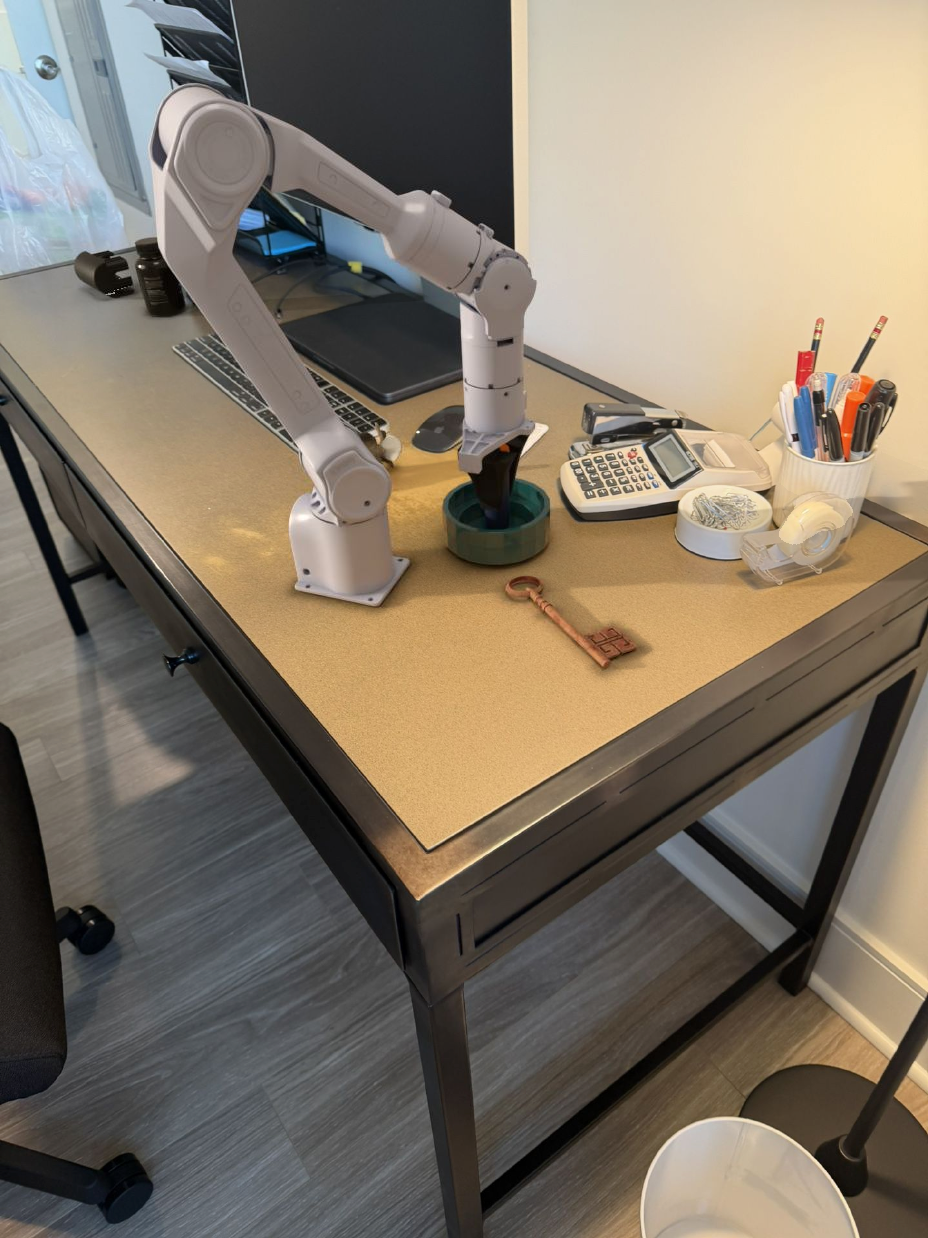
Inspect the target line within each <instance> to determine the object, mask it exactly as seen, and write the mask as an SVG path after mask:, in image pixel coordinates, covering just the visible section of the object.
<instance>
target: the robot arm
mask: <svg viewBox="0 0 928 1238" xmlns="http://www.w3.org/2000/svg"><path fill="white" fill-rule="evenodd" d="M147 151H148V156H149V162H150V169H151V176H152V178H151V179H152V189H153V202H154V214H155V215H154V216H155V227H156V228H155V229H156V237H157V241H158V247H159V249H160V251H161V253H162V255H163V258H164V259H165V261H166V263H167V264H168V266H169V268H170V269H171V270H172V272H173V273H174V274H175V276H176V277H177V279H178V280H179V281H180V283H181V287H183V289H184V290H185V292H186V293H187V295H188V296H189V297H190V298H191V300H192V301H193V303H194V304H195V305H196V307H197V308H198V310H199V311H200V312H201V313H202V315H203V316H204V318H205V319H206V321H207V322H208V323H209V325H210V326H211V328H212V329H213V330H214V332H215V333H216V335H217V336H218V337H219V339H220V340H221V342H222V343H223V344H224V345H225V347H226V348H227V350H228V351H229V353H230V354H231V355H232V357H233V359H234V360H235V362H237V364H238V365H239V367H240V368H241V369H242V371H243V372H244V373H245V375H246V377H247V378H248V379H249V381H250V382H251V383H252V385H253V386H254V388H255V389H256V390H257V392H258V393H259V394H260V396H261V397H262V399H263V400H264V402H265V403H266V404H267V406H268V407H269V409H270V410H271V412H272V413H273V414H274V415H275V417H276V418H277V420H278V421H279V422H280V424H281V425H282V427H283V428H284V430H285V431H286V432H287V433H288V435H289V436H290V438H291V439H292V441H293V442H294V443H295V445H296V446H297V450H298V459H299V462H300V465H301V467H302V470H303V471H304V472H305V473H306V475H307V476H309V478H310V479H311V481H312V483H313V484H314V486H313V488H312V492H305V493H303V494H301V495H299V497H298V498H297V499H296V501H295V502H294V504H293V506H292V508H291V510H290V514H289V519H288V537H289V543H290V546H291V551H292V557H293V563H294V566H295V570H296V576H297V580H298V581H296V583H295V584H294V589H295V590H296V591H299V592H304V593H309V594H312V595H313V594H314V595H319V596H323V597H328V598H331V599H337V600H342V601H347V602H352V603H357V604H361V605H366V606H371V607H379V606H380V605H381V604H382V603H383V602H384V600H385V599H386V597H387V596H388V595H389V594H390V592H391V590H392V589H393V588H394V586H395V585H396V584H397V583H398V581H399V580H400V578H401V577H402V575H404V573H405V571H406V570H407V569H408V567H409V566H410V564H411V561H410V559H409V558H407V557H406V558H405V557H400V556H395V555H394V554H393V546H392V536H391V529H390V527H391V526H390V520H389V519H390V518H389V510H388V503H389V501H390V498H391V495H392V489H393V483H392V479H391V475H390V473H389V472H388V470H387V469H386V467H385V466H384V464H383V465H382V464H381V463H379V462H378V461H377V460H376V459H375V457H374V456H373V455H372V453H371V452H370V451H369V450H368V448H367V447H366V446H365V444H364V443H363V442H362V441H361V438H360V436H359V435H358V433H357V432H358V431H357V430H356V429H355V428H354V427H353V426H351V425H350V424H349V423H346V422H344V421H342V420H341V419H340V417H339V416H338V414H337V413H336V411H335V410H334V408H333V406H332V405H331V404H330V402H329V400H328V399H327V398H326V396H325V394H324V393H323V391H322V390H321V389H320V387H319V386H318V383H317V382H316V381H315V379H314V378H313V376H312V375H311V373H310V371H309V370H308V369H307V367H306V366H305V364H304V362H303V361H302V359H301V358H300V356H299V355H298V353H297V351H296V349H295V348H294V347H293V345H292V344H291V342H290V341H289V339H288V338H287V336H286V335H285V333H284V332H283V330H282V328H281V327H280V325H279V324H278V322H277V321H276V319H275V318H274V316H273V315H272V313H271V311H270V310H269V309H268V307H267V305H266V303H264V301H263V299H262V298H261V296H260V295H259V293H258V291H257V290H256V289H255V287H254V286H253V284H252V282H251V281H250V280H249V278H248V276H247V275H246V274H245V272H244V270H243V269H242V267H241V266H240V264H239V263H238V261H237V260H236V257H234V254H233V249H234V245H235V240H236V237H237V233H238V230H239V226H240V222H241V217H242V216H243V214H244V213H245V211H246V210H247V209H248V207H249V206H250V204H251V202H252V201H253V200H254V198H255V197H256V196H257V194H258V193H259V191H260V189H261V187H263V188H264V189H265V190H267V191H268V192H269V193H270V194H280V193H281V194H282V193H286V192H288V191H295V190H299V189H300V190H303V191H306V192H307V193H309V194H310V195H312V196H315V197H316V198H318V199H320V200H321V201H323V202H325V203H327V204H328V205H330V206H332V207H334V208H336V209H338V210H339V211H341V212H343V213H345V214H347V215H348V216H350V217H352V218H354V219H355V220H357V221H359V222H361V223H363V224H365V225H367V226H368V227H370V228H372V229H373V230H375V231H377V232H379V233H380V237H381V240H382V245H383V248H384V251H385V254H386V256H387V257H388V258H389V259H390V260H392V261H394V262H395V263H397V264H399V265H401V266H402V267H404V268H406V269H407V270H410V271H411V272H413V273H414V274H416V275H418V276H420V277H421V278H423V279H425V280H427V281H428V282H429V283H431V284H433V285H435V286H437V287H438V288H440V289H442V290H443V291H445V292H447V293H450V294H453V296H454V297H456V298H461V301H459V313H460V338H461V339H460V341H461V342H460V343H461V356H462V357H461V359H462V360H461V361H462V363H461V364H462V382H463V385H462V386H463V405H464V418H463V420H462V439H461V445H460V446H459V447H458V449H457V454H456V455H457V460H458V471H459V472H463V473H464V472H465V473H467V475H468V477H469V478H470V481H471V480H472V483H473V485H474V488H475V491H476V494H477V498H478V501H479V504H480V506H481V509H484V510H490V511H496V512H499V511H500V510H501V509H502V506H503V502H504V497H505V488H506V481H507V476H508V472H509V496H510V495H511V493H512V490H513V486H514V482H515V478H517V472H518V467H519V463H520V460H521V457H522V453H523V451H524V449H525V446H526V444H527V441H528V439H529V438H530V437H531V434H533V432H534V431H535V430H536V421H535V420H534V419H529V418H526V409H527V408H528V407H527V402H528V401H527V392H528V391H527V390H524V389H525V388H524V375H525V373H524V371H525V370H524V369H525V368H524V357H525V356H524V355H525V354H524V352H525V351H524V344H525V343H524V332H525V331H524V330H525V314H526V312H527V310H528V308H529V306H530V305H531V303H532V301H533V300H534V297H535V293H536V290H537V283H538V281H537V280H536V279H534V278H533V274H532V269H531V267H529V262H528V261H527V259H526V258H525V257H524V255H522V254H521V253H520V252H519V251H516V250H514V249H512V248H511V247H509V246H507V245H505V244H504V243H502V242H500V241H498V240H497V239H494V238H493V237H494V234H495V231H494V230H493V229H492V228H490V227H489V226H487V225H485V224H484V223H479V224H478V225H476V224H474V223H472V222H471V221H470V220H468V219H466V218H464V217H463V216H461V215H460V214H458V213H457V212H455V211H454V210H453V209H451V208H450V206H451V204H452V199H450V198H449V197H447V196H446V195H444V194H443V193H441V192H440V191H437V190H435V189H434V190H432V191H431V194H429V193H427V192H426V191H424V190H422V189H421V190H420V189H416V190H413V191H410V192H407V193H404V194H399V195H397V194H396V193H394V192H393V191H391V190H390V189H389V188H387V187H385V186H384V185H383V184H381V183H379V181H377V180H375V179H374V178H372V177H371V176H370V175H368V174H367V173H365V172H363V170H361V169H359V168H358V167H356V166H355V165H353V164H352V163H351V162H349V161H348V160H346V159H345V158H343V157H342V156H340V155H339V154H337V153H336V152H335V151H333V150H332V149H330V148H328V147H327V146H326V145H325V144H323V143H322V142H320V141H318V140H317V139H316V138H314V137H313V136H312V135H310V134H308V133H306V132H305V131H304V130H301V129H299V128H298V127H295V126H294V125H292V124H290V123H288V122H286V121H284V120H281V119H279V118H277V117H274V116H273V115H270V114H268V113H266V112H264V111H261V110H260V109H257V108H255V107H252V106H250V105H247V104H245V103H243V102H240V101H236V100H233V99H230V98H228V97H226V96H225V95H224V94H223V93H221V92H220V91H219V90H217V89H215V88H213V87H212V86H210V85H206V84H202V83H194V82H193V83H191V82H190V83H183V84H182V85H179V86H176V87H175V88H172V90H171V91H169V92H168V93H167V94H166V95H165V96H164V97H163V99H162V100H161V102H160V104H159V106H158V109H157V112H156V115H155V119H154V122H153V126H152V130H151V134H150V138H149V141H148V146H147ZM503 444H506V445H508V446H509V452H505V451H500V446H502V445H503Z"/></svg>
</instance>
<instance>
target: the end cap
mask: <svg viewBox="0 0 928 1238" xmlns="http://www.w3.org/2000/svg"><path fill="white" fill-rule="evenodd" d="M73 270H74V273H75V275H76V276H77V277H76V278H78V280H80V281H81V282H83V284H85V285H87V286H90V287H91V288H92V289H94V290H96V291H98V292H99V293H101V294H103V295H105V294H108V293H113V292H115V294H111V295H106V296H107V297H109V298H111V299H117V298H121V297H125V296H128V295H132V294H135V289H134V288H133V287H132V286H134V281H133V277H132V276H131V275H129V276H125V277H121V276H120V275H118V274H117V273H121V272H124V271H128V270H130V267H129V263H128V261H127V259H126V258H124V257H123V256H121V255H118V256H115V253H114V252H112V251H110V250H104V251H99V252H95V253H91V252H89V251H86V250H83V251H82V252H80V253H79V254H77V256H76V257H75V260H74V263H73ZM119 278H120V279H119ZM128 286H130V287H128ZM124 287H126V288H124ZM121 288H123V289H121ZM117 289H119V290H117ZM114 290H115V291H114Z"/></svg>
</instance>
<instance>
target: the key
mask: <svg viewBox="0 0 928 1238" xmlns="http://www.w3.org/2000/svg"><path fill="white" fill-rule="evenodd" d="M520 582H530V583H534V584H535V585H537V586H538V587H536V588H534V589H533V588H531V587H528V586H527V587H525V590H526V591H520V590H519V591H518V590H515V589H513V588H511V586H512V585H514V584H517V583H520ZM543 588H544V584H543V582H542V581H541V579H540V578H538V577H535V576H531V575H521V576H520V575H519V576H516V577H513V578H511V579H510V580H509V581H507V583H506V584H505V591H506V592H507V594H509V595H511V596H513V597H516V598H517V597H518V598H528V597H530V598H531V599H532V600H533V603H535V604H537V605H538V607H539V608H540V609H542V611H543V613H546V615H548V616H549V617H550V618H551V619H552V620H553V621H554V622H555V623H556V624H558V625H559V626H560V628H562V629H563V630H564V631H565V632H566V633H567V634H568V635H569V636H570V637H571V638H572V639H573V640H574V641H575V642H576V643H578V644H579V645H580V646H581V648H583V649H584V650H585V651H586V652H587V653H588V654H589V655H590V656H591V657H592V658H593V659H594V660H595V661H596V662H597V663H598V664H599V665H601V667H603V668H604V669H606V668H608V667H610V666H611V664H612V661H611V660H610V659H612V658H615V657H617V656H620V655H622V654H626V653H628V652H631V651H635V650H636V649H638V645H637V644H636V643H634V642H633V641H632V640H631V639H630V638H629V637H627V636H626V635H625V634H624V633H623V632H621V630H619V628H617V627H616V626H615V625H614V624H612V625H609V626H606V627H603V628H601V629H598V631H597V630H595V631H592V632H588V633H586V634H582V633H581V632H580V631H579V630H578V629H577V628H576V627H575V626H574V625H572V624H571V622H569V621H568V620H567V618H565V617H564V616H563V615H562V614H561V613H560V612H559V611H558V610H557V609H556V608H554V606H553V605H552V604H551V603H550V602H548V601H547V599H545V598H544V597H543V596H542V595H541V594H539V593H540V592H541V591H542V589H543Z"/></svg>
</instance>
